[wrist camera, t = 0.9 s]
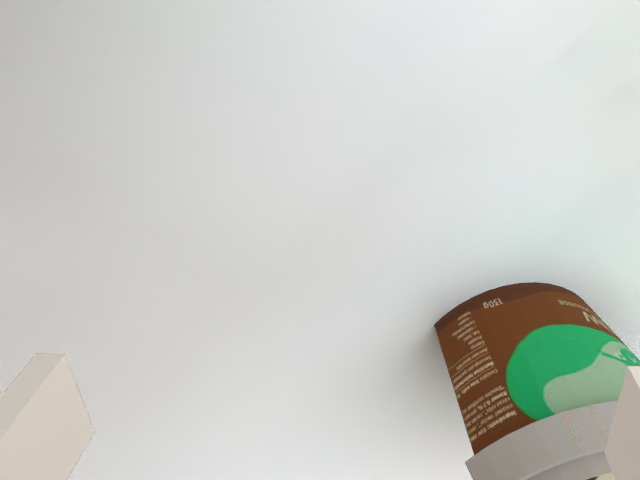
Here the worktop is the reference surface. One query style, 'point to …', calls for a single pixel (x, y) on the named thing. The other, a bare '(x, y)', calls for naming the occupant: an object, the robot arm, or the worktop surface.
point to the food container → (534, 382)
